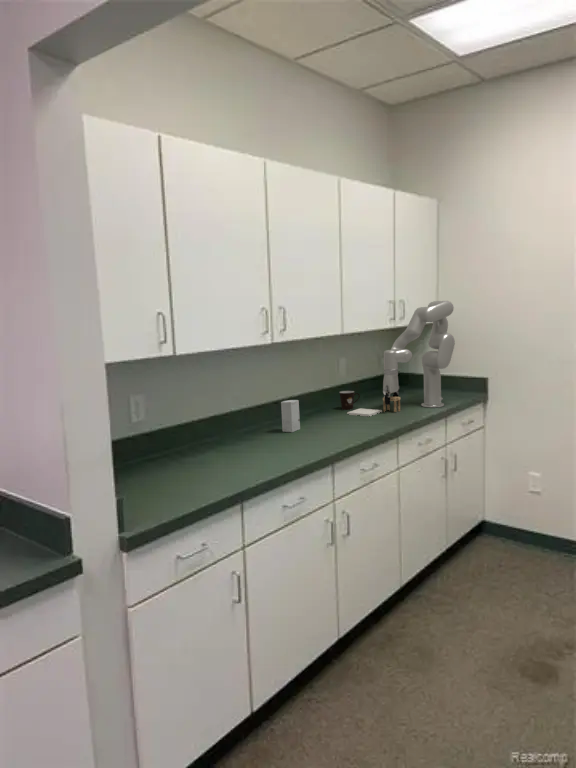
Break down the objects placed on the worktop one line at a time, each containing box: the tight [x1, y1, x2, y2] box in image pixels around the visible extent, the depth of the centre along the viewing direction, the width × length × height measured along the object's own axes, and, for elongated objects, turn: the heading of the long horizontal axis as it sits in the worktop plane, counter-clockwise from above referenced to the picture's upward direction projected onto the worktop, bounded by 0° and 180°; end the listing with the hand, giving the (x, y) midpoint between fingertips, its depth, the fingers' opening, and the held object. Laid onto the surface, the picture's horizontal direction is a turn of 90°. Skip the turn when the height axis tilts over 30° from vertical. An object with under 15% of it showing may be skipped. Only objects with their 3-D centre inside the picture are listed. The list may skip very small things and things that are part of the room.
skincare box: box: [280, 399, 301, 433], centre depth 288 cm, size 8×6×15 cm
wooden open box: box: [382, 395, 401, 413], centre depth 326 cm, size 6×8×8 cm
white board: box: [346, 408, 383, 417], centre depth 325 cm, size 14×14×1 cm
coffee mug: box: [339, 390, 361, 411], centre depth 340 cm, size 12×9×10 cm
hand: (391, 403), depth 326 cm, fingers open, 9 cm apart
